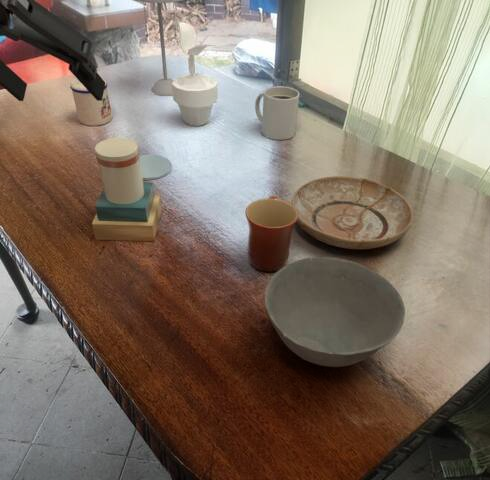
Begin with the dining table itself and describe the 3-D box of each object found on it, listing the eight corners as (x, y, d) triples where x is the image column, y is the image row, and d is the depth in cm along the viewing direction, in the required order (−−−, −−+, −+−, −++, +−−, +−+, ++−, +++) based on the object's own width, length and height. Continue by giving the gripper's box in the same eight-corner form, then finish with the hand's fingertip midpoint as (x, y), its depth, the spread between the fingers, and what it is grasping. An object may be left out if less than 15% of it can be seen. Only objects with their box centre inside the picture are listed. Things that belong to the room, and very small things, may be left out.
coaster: (117, 161, 105) (117, 159, 105) (162, 153, 109) (162, 151, 109) (131, 184, 99) (131, 181, 98) (178, 174, 102) (178, 172, 102)
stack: (108, 207, 92) (101, 178, 88) (162, 209, 92) (158, 180, 88) (95, 239, 85) (87, 209, 80) (154, 241, 85) (150, 211, 80)
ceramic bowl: (429, 228, 91) (437, 207, 87) (359, 280, 79) (366, 258, 75) (337, 184, 102) (341, 163, 98) (264, 223, 90) (266, 201, 86)
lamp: (204, 85, 141) (199, -53, 116) (179, 104, 130) (168, -43, 105) (155, 76, 144) (140, -59, 120) (127, 94, 133) (105, -50, 109)
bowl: (236, 362, 66) (238, 314, 58) (296, 289, 77) (303, 241, 70) (357, 423, 59) (375, 377, 52) (402, 334, 71) (422, 286, 63)
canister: (100, 188, 85) (89, 141, 78) (138, 181, 87) (131, 134, 81) (110, 208, 81) (100, 160, 74) (150, 199, 83) (143, 152, 76)
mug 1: (299, 138, 117) (304, 98, 110) (264, 141, 115) (266, 100, 108) (286, 121, 124) (290, 82, 117) (253, 124, 122) (255, 84, 115)
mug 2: (290, 279, 79) (297, 230, 71) (241, 274, 79) (242, 225, 72) (293, 238, 87) (299, 190, 79) (247, 235, 87) (249, 186, 80)
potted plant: (166, 120, 122) (155, 9, 104) (200, 109, 128) (195, 2, 110) (195, 136, 116) (189, 21, 98) (229, 124, 122) (230, 13, 103)
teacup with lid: (110, 126, 118) (101, 78, 110) (75, 126, 118) (63, 78, 109) (116, 108, 126) (109, 62, 118) (83, 108, 126) (73, 61, 117)
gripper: (-170, -1, 49) (-13, 115, 69) (17, -19, 42) (131, 116, 62) (-152, -63, 50) (-2, 70, 70) (35, -90, 43) (142, 66, 63)
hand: (61, 92), depth 66 cm, fingers open, 13 cm apart
